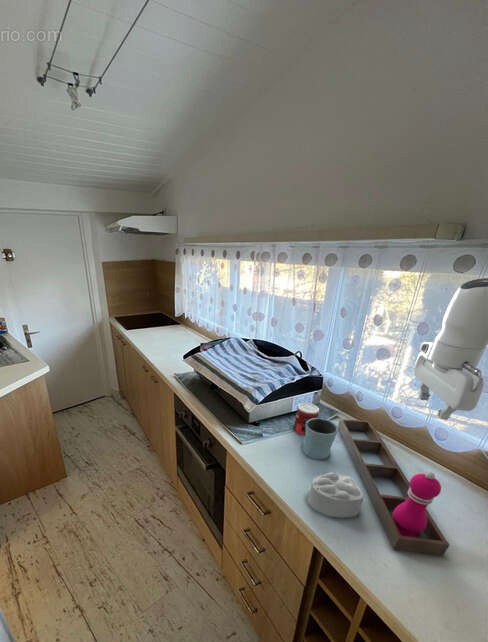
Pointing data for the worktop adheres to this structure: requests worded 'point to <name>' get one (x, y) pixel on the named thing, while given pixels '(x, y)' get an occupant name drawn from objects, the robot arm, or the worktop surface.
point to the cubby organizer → (382, 503)
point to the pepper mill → (416, 505)
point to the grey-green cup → (319, 437)
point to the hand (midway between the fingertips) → (432, 408)
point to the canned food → (304, 416)
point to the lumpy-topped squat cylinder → (335, 495)
